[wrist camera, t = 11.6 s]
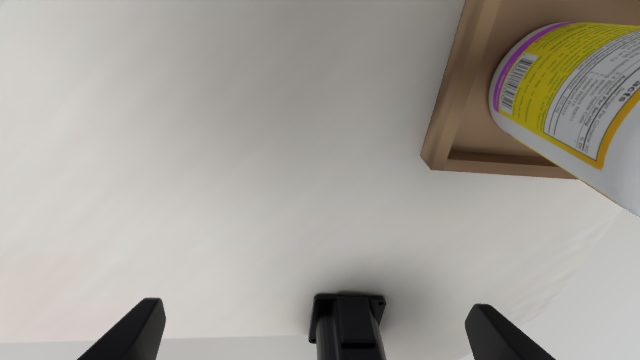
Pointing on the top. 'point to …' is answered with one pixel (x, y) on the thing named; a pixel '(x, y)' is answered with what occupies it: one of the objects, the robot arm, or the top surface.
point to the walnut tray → (476, 75)
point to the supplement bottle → (577, 103)
